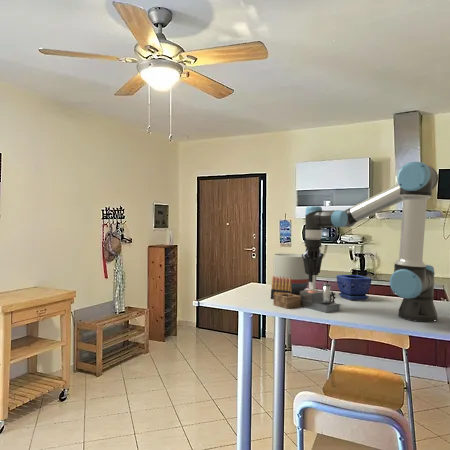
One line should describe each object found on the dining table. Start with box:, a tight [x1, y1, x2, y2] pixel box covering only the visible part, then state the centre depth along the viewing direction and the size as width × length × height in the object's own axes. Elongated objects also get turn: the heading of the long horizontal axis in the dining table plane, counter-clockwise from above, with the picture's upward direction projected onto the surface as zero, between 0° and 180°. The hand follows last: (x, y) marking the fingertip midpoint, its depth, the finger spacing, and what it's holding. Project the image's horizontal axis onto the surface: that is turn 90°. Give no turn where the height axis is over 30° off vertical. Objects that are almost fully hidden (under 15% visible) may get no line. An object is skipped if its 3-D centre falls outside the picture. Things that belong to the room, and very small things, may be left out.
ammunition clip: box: [270, 275, 292, 300], centre depth 206 cm, size 11×2×12 cm, turn 65°
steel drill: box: [322, 282, 331, 305], centre depth 184 cm, size 3×3×12 cm
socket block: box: [299, 289, 341, 314], centre depth 188 cm, size 18×9×7 cm, turn 35°
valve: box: [310, 288, 337, 303], centre depth 200 cm, size 7×7×12 cm
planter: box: [273, 252, 309, 295], centre depth 225 cm, size 20×20×21 cm
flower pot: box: [336, 274, 372, 301], centre depth 214 cm, size 13×13×12 cm
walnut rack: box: [272, 293, 301, 310], centre depth 191 cm, size 9×9×5 cm
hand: (312, 288), depth 191 cm, fingers closed
